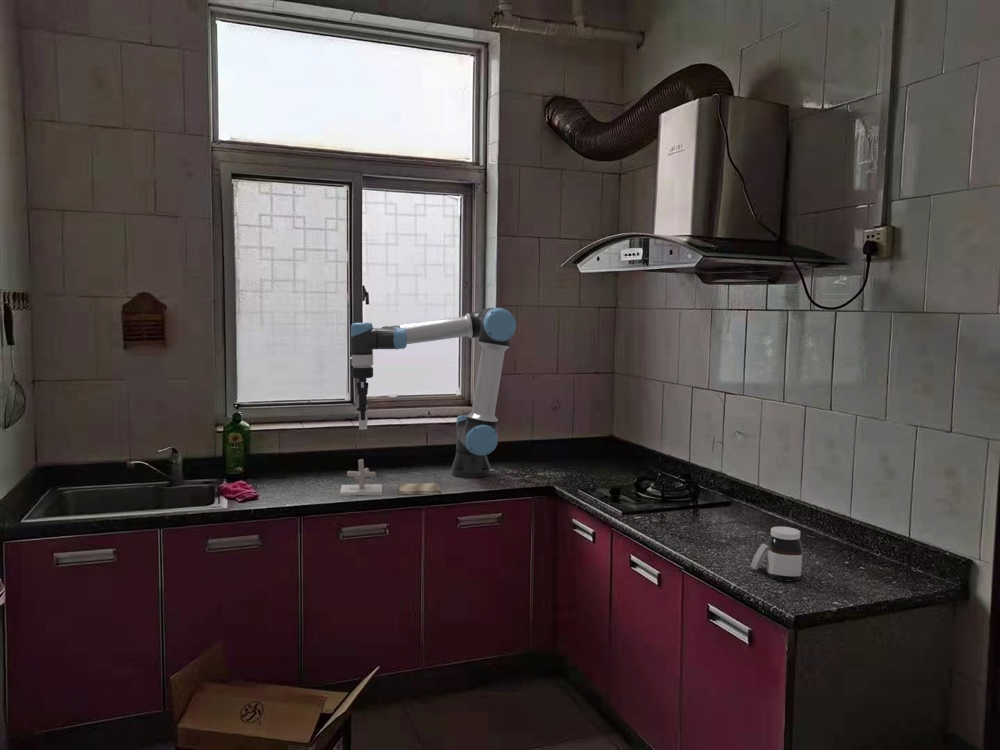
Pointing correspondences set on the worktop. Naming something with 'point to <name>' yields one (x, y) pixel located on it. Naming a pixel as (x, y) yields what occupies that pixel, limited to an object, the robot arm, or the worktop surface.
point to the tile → (361, 490)
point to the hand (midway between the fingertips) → (363, 426)
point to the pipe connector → (361, 474)
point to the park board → (419, 488)
